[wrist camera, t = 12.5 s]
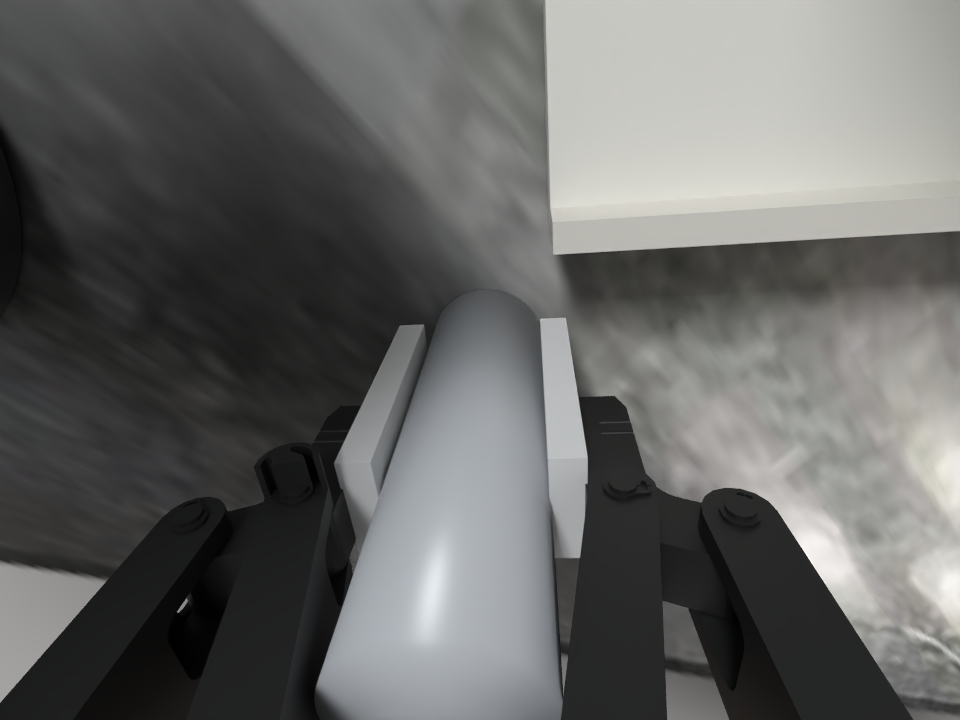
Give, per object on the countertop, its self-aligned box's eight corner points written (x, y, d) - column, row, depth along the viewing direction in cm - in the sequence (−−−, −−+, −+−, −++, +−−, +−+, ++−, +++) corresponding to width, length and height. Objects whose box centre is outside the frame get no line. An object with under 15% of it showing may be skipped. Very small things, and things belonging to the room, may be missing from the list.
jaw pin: (441, 386, 19) (341, 775, 9) (428, 292, 18) (286, 637, 7) (543, 383, 19) (565, 786, 8) (540, 286, 17) (564, 642, 7)
